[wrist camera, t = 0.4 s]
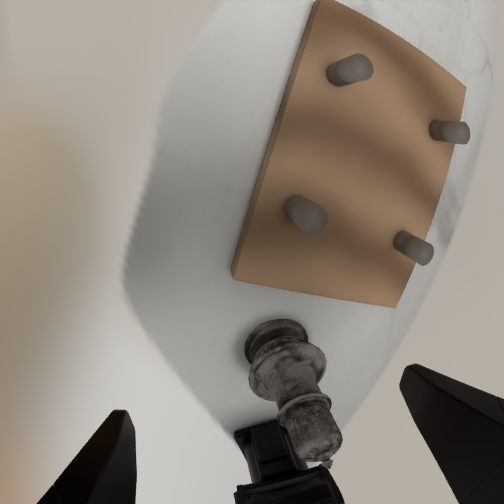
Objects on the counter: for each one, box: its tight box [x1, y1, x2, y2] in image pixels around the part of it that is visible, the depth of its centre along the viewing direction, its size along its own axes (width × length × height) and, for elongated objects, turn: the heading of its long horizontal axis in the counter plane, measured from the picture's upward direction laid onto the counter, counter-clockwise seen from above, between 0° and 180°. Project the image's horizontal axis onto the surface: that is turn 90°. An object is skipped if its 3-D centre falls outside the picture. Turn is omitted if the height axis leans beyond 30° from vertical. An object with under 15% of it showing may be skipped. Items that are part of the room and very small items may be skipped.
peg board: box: [230, 0, 470, 308], centre depth 18 cm, size 20×14×4 cm
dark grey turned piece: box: [244, 319, 343, 469], centre depth 19 cm, size 6×6×12 cm
